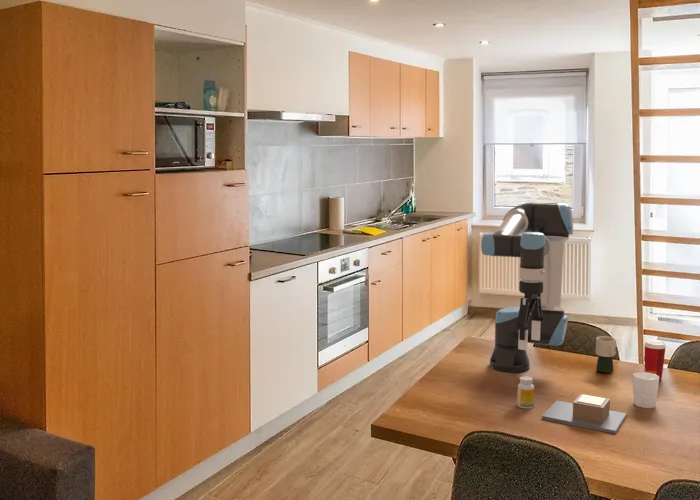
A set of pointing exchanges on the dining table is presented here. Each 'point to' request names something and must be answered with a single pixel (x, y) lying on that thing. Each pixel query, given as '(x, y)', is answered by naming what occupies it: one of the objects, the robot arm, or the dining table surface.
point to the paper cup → (654, 357)
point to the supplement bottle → (525, 393)
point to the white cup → (645, 389)
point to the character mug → (605, 353)
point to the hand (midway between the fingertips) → (529, 344)
